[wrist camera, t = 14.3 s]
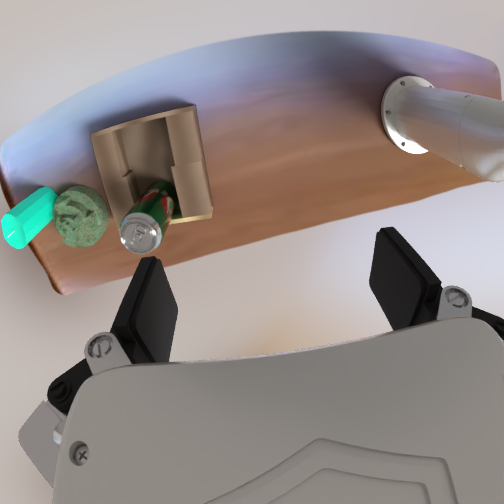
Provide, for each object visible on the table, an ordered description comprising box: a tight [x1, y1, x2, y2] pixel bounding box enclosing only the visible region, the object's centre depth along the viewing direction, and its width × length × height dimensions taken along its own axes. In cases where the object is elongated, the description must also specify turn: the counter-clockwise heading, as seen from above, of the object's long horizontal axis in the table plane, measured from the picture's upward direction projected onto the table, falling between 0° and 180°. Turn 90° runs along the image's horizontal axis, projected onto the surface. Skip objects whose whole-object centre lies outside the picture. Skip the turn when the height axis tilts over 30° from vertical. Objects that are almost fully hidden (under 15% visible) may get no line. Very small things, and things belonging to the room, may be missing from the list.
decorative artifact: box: [53, 185, 109, 247], centre depth 36 cm, size 10×7×10 cm
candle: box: [1, 186, 58, 249], centre depth 32 cm, size 6×6×12 cm
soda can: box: [120, 181, 179, 254], centre depth 32 cm, size 5×5×12 cm
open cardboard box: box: [90, 105, 213, 233], centre depth 34 cm, size 14×15×4 cm
